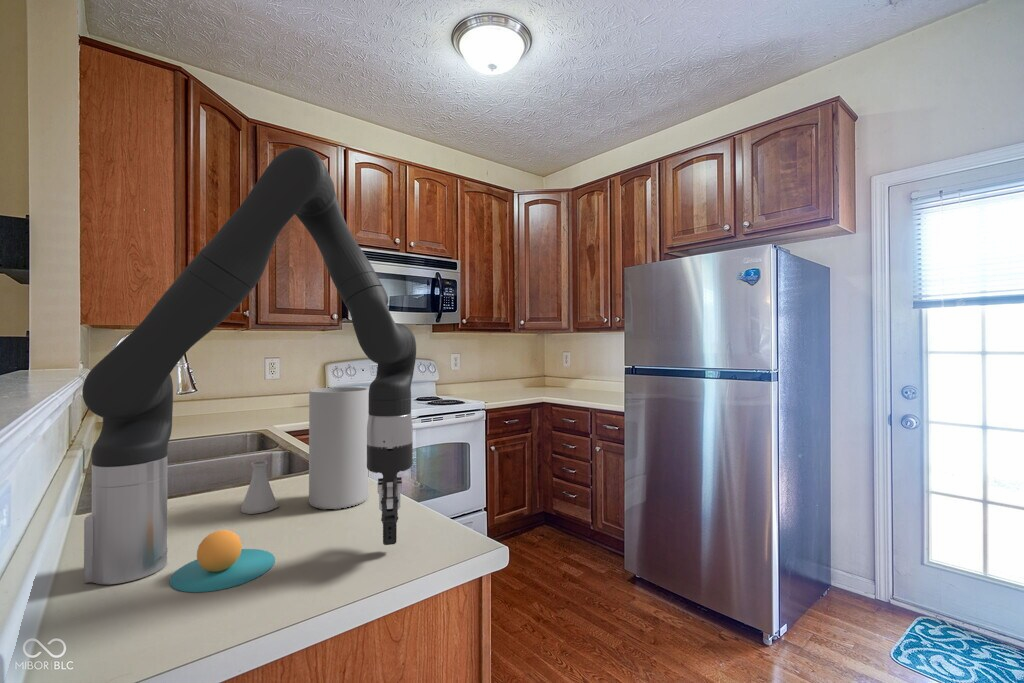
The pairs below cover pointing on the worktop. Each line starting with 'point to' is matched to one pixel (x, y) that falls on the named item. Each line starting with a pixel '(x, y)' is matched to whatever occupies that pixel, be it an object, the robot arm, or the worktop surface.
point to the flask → (259, 491)
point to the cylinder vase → (338, 447)
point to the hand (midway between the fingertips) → (389, 542)
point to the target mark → (222, 573)
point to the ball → (219, 550)
